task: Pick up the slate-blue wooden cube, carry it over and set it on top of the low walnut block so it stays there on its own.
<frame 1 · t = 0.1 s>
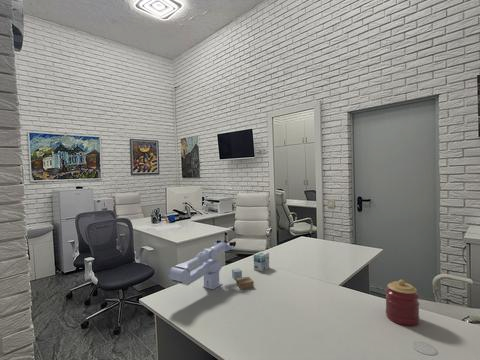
hand: (230, 242, 175), 22 cm above the table, tool horizontal, fingers open, 7 cm apart
light bulb box: (261, 268, 187), on the table
canister: (402, 319, 119), on the table
walnut block: (244, 286, 158), on the table
slate cube: (237, 277, 171), on the table
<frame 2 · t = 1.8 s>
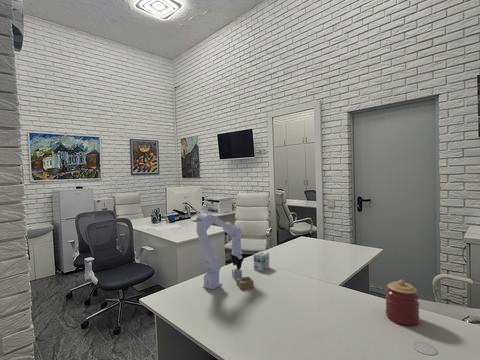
hand: (236, 267, 171), 7 cm above the table, tool pointing down, fingers open, 7 cm apart
nothing on the table moved.
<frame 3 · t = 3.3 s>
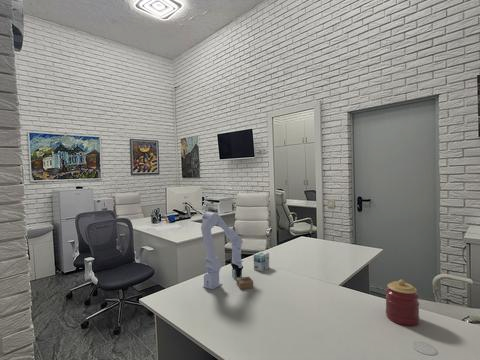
hand: (236, 275, 171), 1 cm above the table, tool pointing down, fingers closed on slate cube, 5 cm apart
slate cube: (237, 277, 171), on the table, touching gripper
everything else where it was.
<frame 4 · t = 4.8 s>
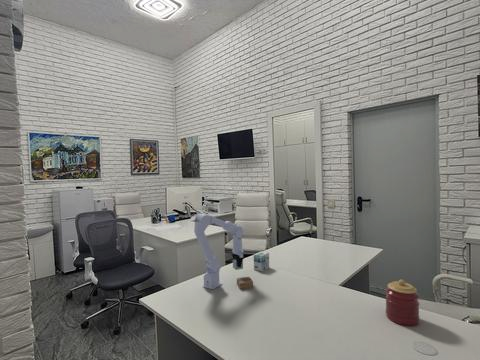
hand: (237, 265, 169), 8 cm above the table, tool pointing down, fingers closed on slate cube, 5 cm apart
slate cube: (237, 268, 169), point 7 cm above the table, touching gripper
everything else where it was.
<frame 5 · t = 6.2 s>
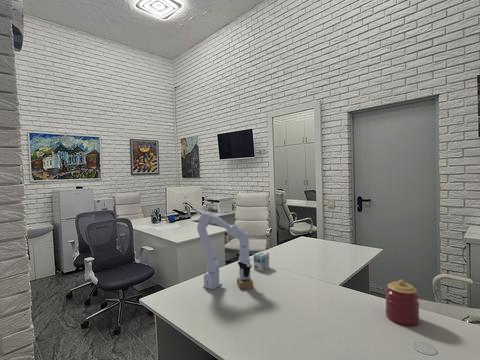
hand: (244, 275, 158), 6 cm above the table, tool pointing down, fingers closed on slate cube, 5 cm apart
slate cube: (244, 277, 158), point 5 cm above the table, touching gripper
everything else where it was.
when the fingers open (6 cm above the table, at t = 6.8 s): slate cube drops 1 cm, resting on walnut block.
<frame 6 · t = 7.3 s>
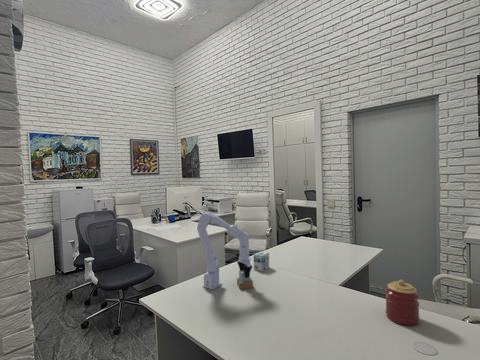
hand: (244, 275, 158), 6 cm above the table, tool pointing down, fingers open, 7 cm apart
walnut block: (244, 286, 158), on the table, touching slate cube
slate cube: (244, 279, 158), point 4 cm above the table, touching walnut block
everything else where it was.
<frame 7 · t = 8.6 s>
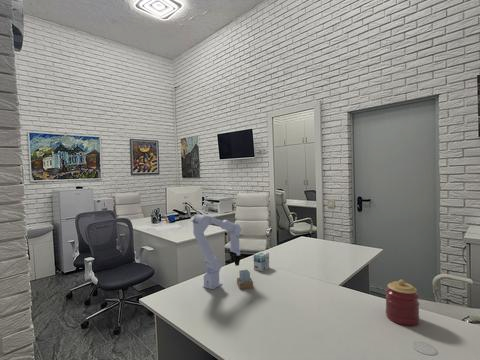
hand: (235, 263, 170), 9 cm above the table, tool pointing down, fingers open, 7 cm apart
nothing on the table moved.
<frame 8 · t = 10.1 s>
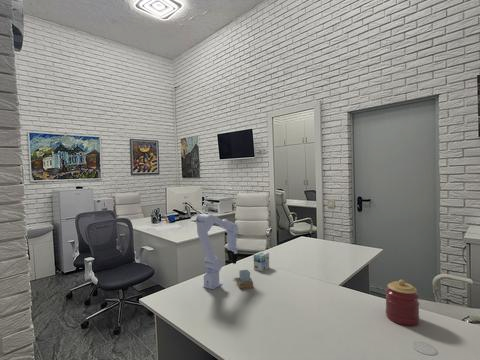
hand: (232, 261, 174), 9 cm above the table, tool pointing down, fingers open, 7 cm apart
walnut block: (244, 286, 158), on the table
slate cube: (244, 279, 158), point 4 cm above the table
everything else where it was.
at the end: slate cube 0.4 cm off-centre on the walnut block, point 4.0 cm above the walnut block's base; slate cube touching walnut block; the gripper is holding nothing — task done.
